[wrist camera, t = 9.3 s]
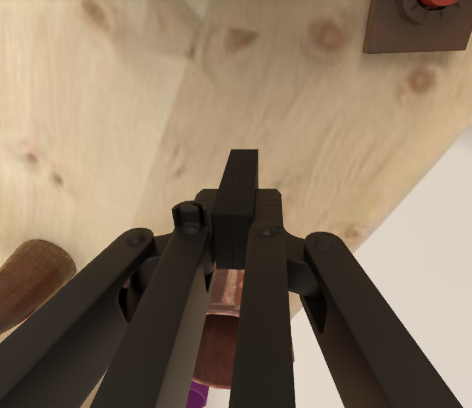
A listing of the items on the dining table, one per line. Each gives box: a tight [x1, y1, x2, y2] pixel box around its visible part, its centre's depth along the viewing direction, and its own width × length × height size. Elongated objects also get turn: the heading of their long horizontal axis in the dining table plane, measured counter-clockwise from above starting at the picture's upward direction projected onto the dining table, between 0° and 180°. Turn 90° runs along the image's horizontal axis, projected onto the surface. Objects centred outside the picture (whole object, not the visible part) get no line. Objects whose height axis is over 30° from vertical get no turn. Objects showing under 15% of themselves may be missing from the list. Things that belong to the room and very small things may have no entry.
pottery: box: [192, 262, 294, 390], centre depth 45 cm, size 18×18×18 cm
